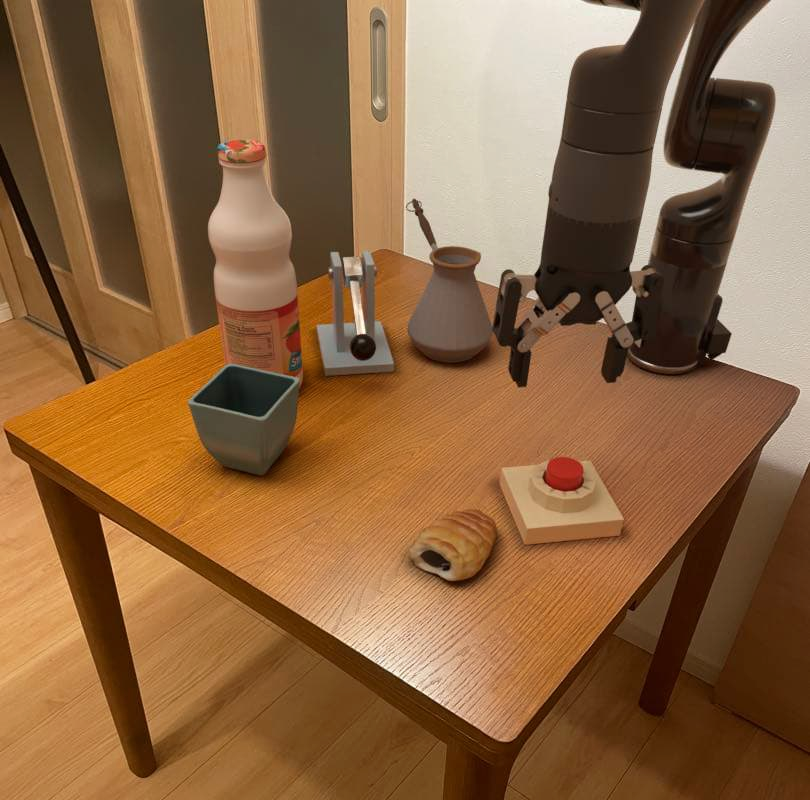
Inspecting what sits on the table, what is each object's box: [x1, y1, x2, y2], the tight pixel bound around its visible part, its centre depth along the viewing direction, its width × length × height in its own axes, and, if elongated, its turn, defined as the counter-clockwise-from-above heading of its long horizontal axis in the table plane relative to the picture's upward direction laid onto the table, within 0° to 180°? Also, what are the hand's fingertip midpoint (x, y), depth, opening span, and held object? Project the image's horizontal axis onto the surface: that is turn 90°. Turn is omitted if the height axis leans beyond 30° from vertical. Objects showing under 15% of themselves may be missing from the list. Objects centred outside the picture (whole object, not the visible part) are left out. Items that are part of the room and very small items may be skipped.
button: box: [545, 456, 584, 492], centre depth 80 cm, size 4×4×2 cm
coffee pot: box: [405, 198, 494, 363], centre depth 107 cm, size 21×12×15 cm, turn 20°
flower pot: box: [187, 364, 300, 476], centre depth 86 cm, size 9×9×9 cm
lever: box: [342, 256, 376, 361], centre depth 98 cm, size 14×3×3 cm, turn 10°
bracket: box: [316, 250, 395, 377], centre depth 103 cm, size 12×9×13 cm
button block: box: [498, 459, 625, 546], centre depth 82 cm, size 10×10×4 cm
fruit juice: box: [207, 138, 304, 389], centre depth 91 cm, size 9×9×28 cm
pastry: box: [408, 508, 498, 582], centre depth 77 cm, size 9×7×4 cm
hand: (564, 381), depth 74 cm, fingers open, 8 cm apart
